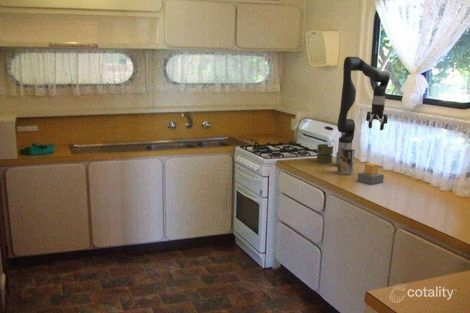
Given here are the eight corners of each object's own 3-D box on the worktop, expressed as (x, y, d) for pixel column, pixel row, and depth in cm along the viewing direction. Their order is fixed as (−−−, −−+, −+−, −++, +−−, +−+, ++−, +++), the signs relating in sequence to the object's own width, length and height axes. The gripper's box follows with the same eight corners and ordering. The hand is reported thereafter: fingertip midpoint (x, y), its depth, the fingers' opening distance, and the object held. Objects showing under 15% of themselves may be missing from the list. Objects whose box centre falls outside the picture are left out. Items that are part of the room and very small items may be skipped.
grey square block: (357, 180, 299) (358, 172, 298) (368, 178, 306) (369, 170, 305) (371, 184, 291) (372, 175, 290) (383, 182, 297) (384, 173, 296)
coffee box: (353, 173, 319) (355, 149, 316) (350, 175, 314) (352, 150, 311) (339, 171, 323) (341, 147, 320) (337, 173, 318) (338, 149, 315)
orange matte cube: (364, 173, 298) (365, 163, 297) (369, 172, 301) (370, 162, 300) (371, 175, 293) (372, 165, 292) (377, 174, 297) (378, 164, 296)
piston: (326, 143, 359) (336, 146, 349) (325, 159, 361) (335, 162, 352) (314, 144, 353) (324, 147, 344) (313, 160, 356) (323, 163, 346)
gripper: (391, 104, 298) (388, 130, 301) (372, 101, 309) (370, 127, 312) (384, 104, 293) (381, 131, 297) (365, 102, 304) (362, 127, 308)
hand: (375, 129), depth 305 cm, fingers open, 8 cm apart
